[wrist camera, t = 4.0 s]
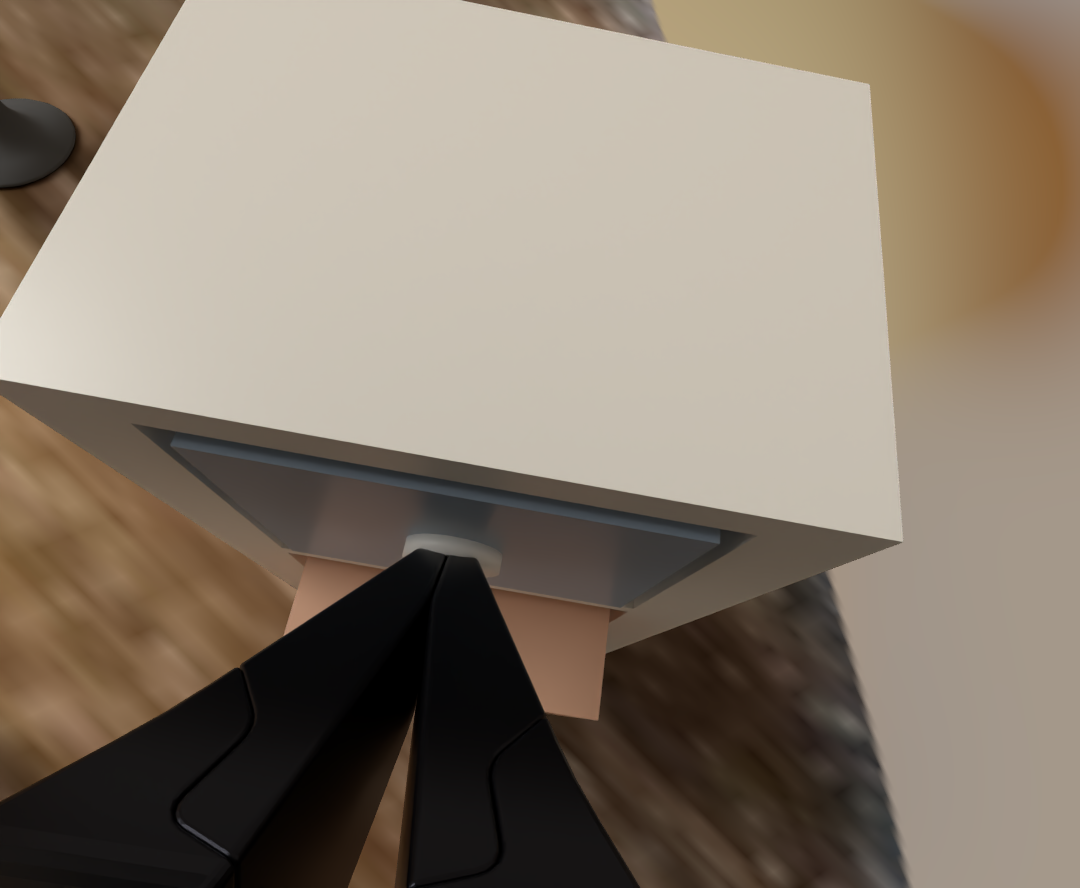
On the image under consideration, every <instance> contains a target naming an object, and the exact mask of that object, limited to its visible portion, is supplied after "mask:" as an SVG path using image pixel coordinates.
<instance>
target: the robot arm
mask: <svg viewBox="0 0 1080 888" xmlns="http://www.w3.org/2000/svg"><path fill="white" fill-rule="evenodd" d="M415 707H416V709H415ZM414 711H415V716H414V723H413V731H412V739H411V748H410V757H409V765H408V774H407V783H406V792H405V801H404V809H403V818H402V827H401V836H400V845H399V854H398V862H397V871H396V880H395V888H640V886H639V885H638V883H637V881H636V880H635V878H634V876H633V875H632V873H631V871H630V870H629V868H628V866H627V865H626V863H625V862H624V860H623V858H622V857H621V855H620V853H619V852H618V850H617V848H616V847H615V845H614V843H613V842H612V840H611V838H610V837H609V835H608V834H607V832H606V830H605V829H604V827H603V825H602V824H601V822H600V820H599V819H598V817H597V815H596V813H595V812H594V810H593V808H592V806H591V805H590V803H589V801H588V799H587V798H586V796H585V794H584V792H583V791H582V789H581V787H580V785H579V784H578V782H577V780H576V778H575V776H574V774H573V772H572V770H571V768H570V766H569V764H568V762H567V759H566V757H565V755H564V753H563V751H562V749H561V747H560V745H559V743H558V740H557V738H556V736H555V734H554V731H553V729H552V727H551V724H550V722H549V720H548V719H546V714H545V711H544V709H543V707H542V705H541V702H540V700H539V698H538V695H537V693H536V691H535V689H534V686H533V684H532V682H531V679H530V677H529V675H528V673H527V670H526V668H525V666H524V663H523V661H522V659H521V657H520V654H519V652H518V650H517V648H516V645H515V643H514V641H513V638H512V636H511V634H510V632H509V629H508V627H507V625H506V622H505V620H504V618H503V616H502V613H501V611H500V609H499V606H498V604H497V602H496V600H495V597H494V595H493V593H492V590H491V588H490V586H489V584H488V581H487V579H486V577H485V575H484V572H483V570H482V568H481V565H480V563H479V561H478V560H477V559H476V558H473V557H459V556H454V555H449V556H448V557H447V556H446V555H445V554H442V553H437V552H434V551H430V550H427V549H423V548H418V549H416V550H414V551H413V552H411V553H410V554H408V555H406V556H405V557H403V558H402V559H400V560H399V561H397V562H396V563H394V564H393V565H391V566H390V567H388V568H387V569H385V570H384V571H382V572H381V573H379V574H378V575H376V576H374V577H373V578H371V579H370V580H368V581H367V582H365V583H364V584H362V585H361V586H359V587H358V588H356V589H355V590H353V591H352V592H350V593H349V594H347V595H346V596H344V597H342V598H341V599H339V600H338V601H336V602H335V603H333V604H332V605H330V606H329V607H327V608H326V609H324V610H323V611H321V612H320V613H318V614H317V615H315V616H313V617H312V618H310V619H309V620H307V621H306V622H304V623H303V624H301V625H300V626H298V627H297V628H295V629H294V630H292V631H291V632H289V633H288V634H286V635H285V636H283V637H281V638H280V639H278V640H277V641H275V642H274V643H272V644H271V645H269V646H268V647H266V648H265V649H263V650H262V651H260V652H259V653H257V654H256V655H254V656H253V657H251V658H249V659H248V660H246V661H245V662H243V663H242V664H241V665H240V668H234V669H232V670H231V671H229V672H228V673H226V674H225V675H223V676H222V677H220V678H219V679H217V680H215V681H214V682H212V683H211V684H209V685H208V686H206V687H205V688H203V689H201V690H200V691H198V692H196V693H195V694H193V695H192V696H190V697H188V698H187V699H185V700H184V701H182V702H180V703H179V704H177V705H176V706H174V707H172V708H171V709H169V710H167V711H166V712H164V713H162V714H161V715H159V716H157V717H155V718H153V719H152V720H150V721H148V722H146V723H145V724H143V725H141V726H139V727H137V728H136V729H134V730H132V731H130V732H129V733H127V734H125V735H123V736H121V737H120V738H118V739H116V740H114V741H113V742H111V743H109V744H107V745H105V746H103V747H101V748H99V749H98V750H96V751H94V752H92V753H90V754H88V755H86V756H85V757H83V758H81V759H79V760H77V761H75V762H73V763H72V764H70V765H68V766H66V767H64V768H62V769H60V770H59V771H57V772H55V773H53V774H51V775H49V776H47V777H46V778H44V779H42V780H40V781H38V782H36V783H34V784H32V785H31V786H29V787H27V788H25V789H23V790H21V791H19V792H18V793H16V794H14V795H12V796H10V797H8V798H6V799H5V800H3V801H1V802H0V888H348V885H349V883H350V880H351V877H352V875H353V872H354V869H355V867H356V864H357V862H358V859H359V856H360V854H361V851H362V849H363V846H364V843H365V841H366V838H367V836H368V833H369V830H370V828H371V825H372V823H373V820H374V817H375V815H376V812H377V810H378V807H379V804H380V802H381V799H382V797H383V794H384V791H385V789H386V786H387V784H388V781H389V778H390V776H391V773H392V771H393V768H394V765H395V763H396V760H397V758H398V755H399V752H400V750H401V747H402V745H403V742H404V739H405V737H406V734H407V731H408V729H409V726H410V723H411V720H412V717H413V714H414Z"/></svg>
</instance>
